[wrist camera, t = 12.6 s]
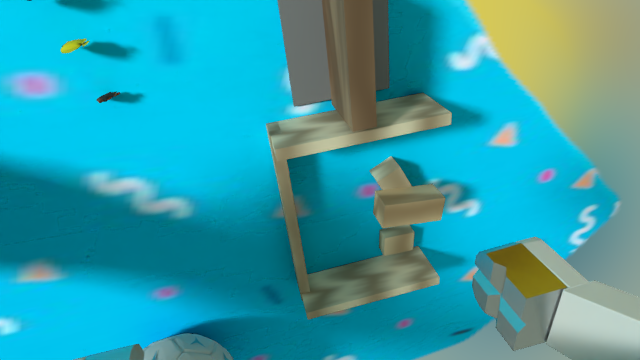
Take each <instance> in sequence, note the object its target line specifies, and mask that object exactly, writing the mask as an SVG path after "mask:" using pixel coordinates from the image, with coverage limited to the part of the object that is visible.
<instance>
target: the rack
mask: <svg viewBox="0 0 640 360" xmlns="http://www.w3.org/2000/svg"><path fill="white" fill-rule="evenodd" d="M376 116H377V127H374V128H369V129H365V130H360V131H355V132H353V131H352V130H351V129H350V127H349V126H348V125H347V123H346V122H345V121H344V119H343V118H342V117H341V115H340V114H339V113H338V111H337V110H333V111H328V112H323V113H318V114H313V115H308V116H303V117H298V118H293V119H288V120H283V121H278V122H273V123H268V124H266V127H267V132H268V137H269V142H270V147H271V152H272V157H273V162H274V167H275V172H276V177H277V182H278V187H279V192H280V197H281V202H282V207H283V212H284V217H285V222H286V227H287V232H288V237H289V242H290V247H291V252H292V257H293V262H294V267H295V272H296V277H297V282H298V287H299V291H300V294H301V298H302V301H303V303H304V307H305V311H306V314H307V318H308V319H312V318H316V317H319V316H323V315H327V314H330V313H334V312H338V311H341V310H345V309H349V308H352V307H356V306H360V305H363V304H367V303H371V302H374V301H378V300H381V299H385V298H389V297H392V296H396V295H400V294H403V293H407V292H411V291H414V290H418V289H422V288H425V287H429V286H433V285H436V284H439V276H438V274H437V273H436V271H435V270H434V269H433V267H432V266H431V264H430V263H429V261H428V260H427V258H426V257H425V255H424V254H423V252H422V251H421V250H420V248H419V247H418V246H417V247H413V250H410V251H406V252H401V253H396V254H392V255H387V256H384V255H382V256H378V257H374V258H370V259H366V260H362V261H358V262H354V263H350V264H346V265H343V266H339V267H335V268H331V269H327V270H323V271H319V272H315V273H311V274H307V271H306V265H305V260H304V254H303V249H302V243H301V237H300V232H299V226H298V221H297V215H296V209H295V204H294V198H293V193H292V187H291V181H290V176H289V170H288V165H287V159H291V158H296V157H301V156H305V155H310V154H315V153H319V152H324V151H329V150H333V149H338V148H343V147H348V146H352V145H357V144H362V143H366V142H371V141H376V140H380V139H385V138H390V137H395V136H399V135H404V134H409V133H413V132H418V131H423V130H427V129H432V128H437V127H442V126H446V125H451V117H452V113H451V112H450V111H448V110H447V109H446V108H444V107H443V106H441V105H440V104H439V103H437V102H436V101H434V100H433V99H431V98H430V97H429V96H427V95H426V94H424V93H419V94H414V95H409V96H404V97H399V98H394V99H389V100H384V101H378V102H376Z"/></svg>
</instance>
